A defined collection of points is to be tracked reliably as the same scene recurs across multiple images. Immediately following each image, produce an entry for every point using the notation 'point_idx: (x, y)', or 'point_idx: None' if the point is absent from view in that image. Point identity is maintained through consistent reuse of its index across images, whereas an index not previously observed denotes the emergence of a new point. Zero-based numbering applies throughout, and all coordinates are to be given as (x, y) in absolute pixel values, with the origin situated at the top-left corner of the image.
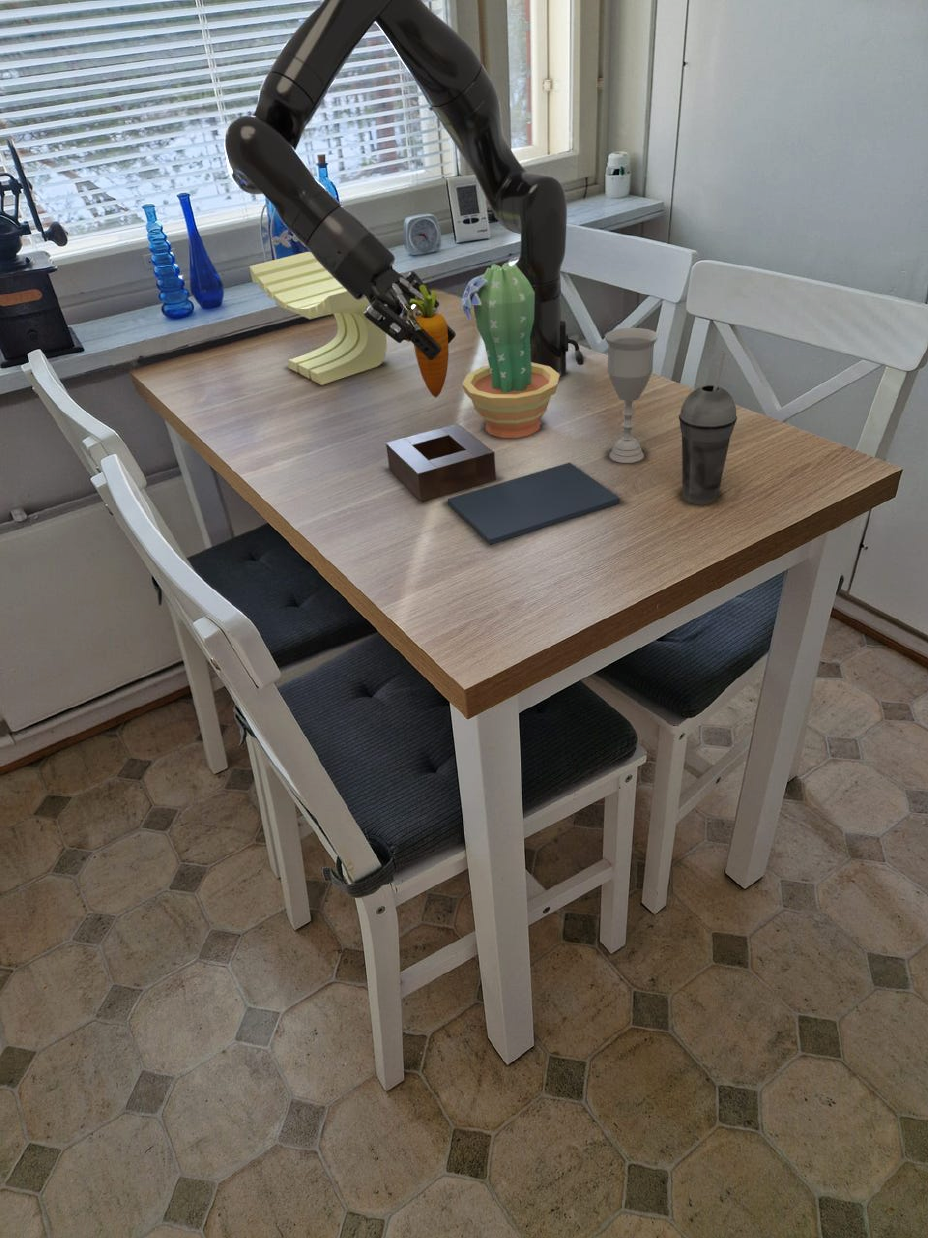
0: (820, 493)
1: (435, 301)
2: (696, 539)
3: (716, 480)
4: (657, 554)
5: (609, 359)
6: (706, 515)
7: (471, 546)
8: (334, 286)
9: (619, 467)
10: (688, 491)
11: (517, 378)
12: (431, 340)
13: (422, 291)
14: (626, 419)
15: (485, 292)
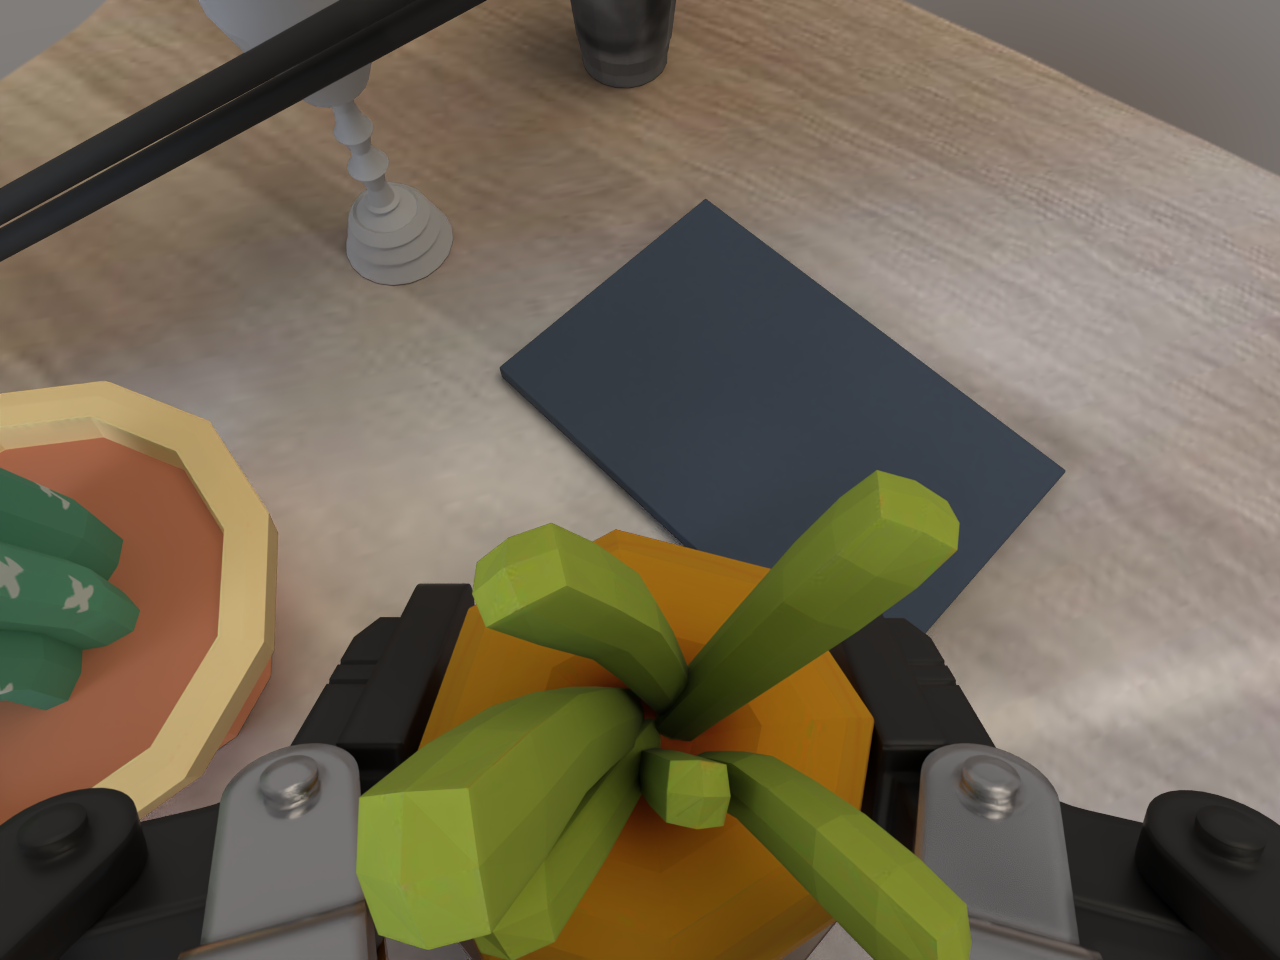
0: None
1: (70, 831)
2: (833, 43)
3: None
4: (929, 101)
5: None
6: (715, 37)
7: (1089, 530)
8: None
9: (483, 246)
10: (664, 47)
11: (83, 537)
12: (895, 639)
13: (532, 827)
14: (370, 147)
15: None
